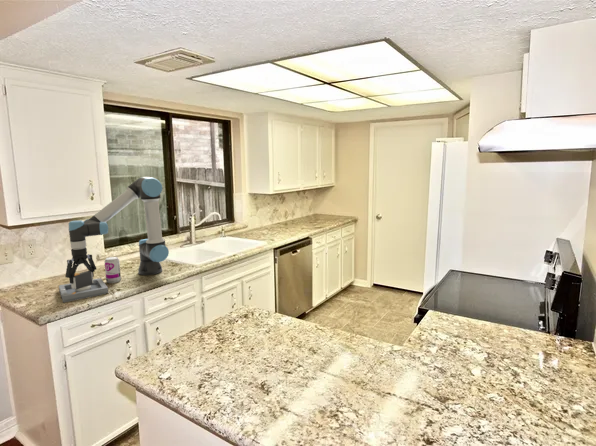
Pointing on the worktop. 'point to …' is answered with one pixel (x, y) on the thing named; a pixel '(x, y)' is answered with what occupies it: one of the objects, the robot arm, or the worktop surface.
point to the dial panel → (70, 294)
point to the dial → (83, 281)
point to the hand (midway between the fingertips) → (82, 285)
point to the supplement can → (112, 269)
